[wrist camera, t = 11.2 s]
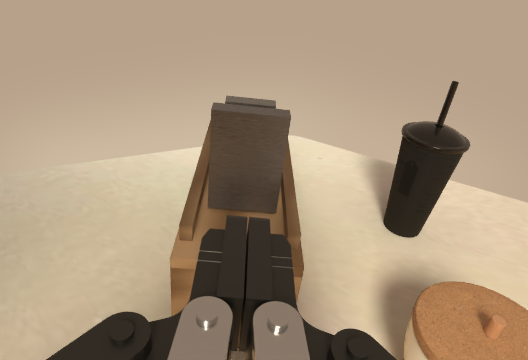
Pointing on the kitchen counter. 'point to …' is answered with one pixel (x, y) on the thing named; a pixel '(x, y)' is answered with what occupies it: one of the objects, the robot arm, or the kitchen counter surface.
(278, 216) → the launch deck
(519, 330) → the lidded jar
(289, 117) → the plunger
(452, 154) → the drinking cup
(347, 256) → the kitchen counter surface
